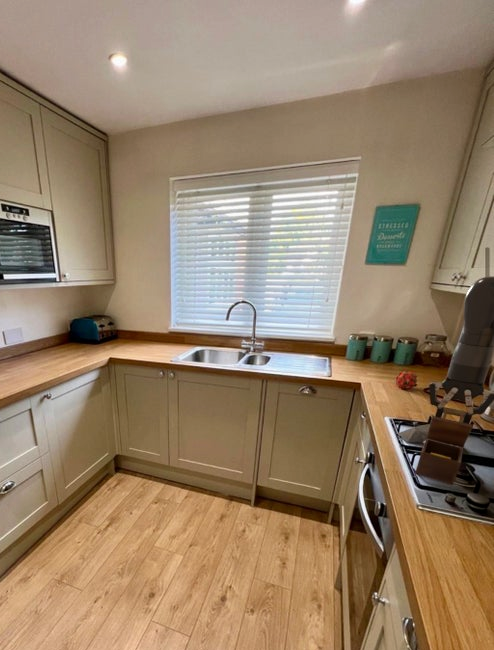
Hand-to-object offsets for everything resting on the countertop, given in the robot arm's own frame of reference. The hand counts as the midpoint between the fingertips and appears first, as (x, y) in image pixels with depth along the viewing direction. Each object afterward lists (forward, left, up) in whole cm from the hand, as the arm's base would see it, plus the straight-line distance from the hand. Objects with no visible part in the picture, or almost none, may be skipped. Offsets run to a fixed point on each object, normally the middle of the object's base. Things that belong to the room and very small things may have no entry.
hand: (450, 423), depth 88 cm
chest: (+3, +3, -13) cm, 14 cm away
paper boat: (-4, -15, -13) cm, 21 cm away
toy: (+4, +5, -12) cm, 14 cm away
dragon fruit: (-33, -67, -13) cm, 76 cm away
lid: (+2, +2, -2) cm, 3 cm away
